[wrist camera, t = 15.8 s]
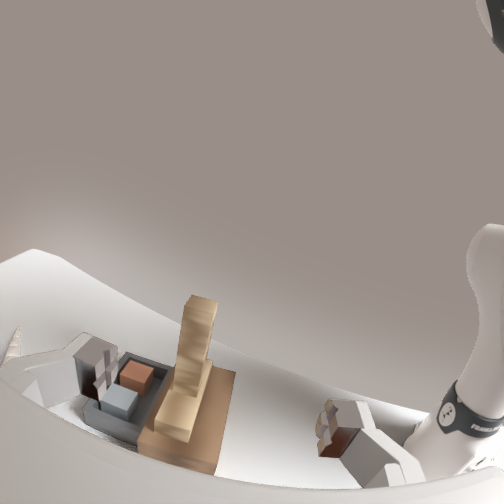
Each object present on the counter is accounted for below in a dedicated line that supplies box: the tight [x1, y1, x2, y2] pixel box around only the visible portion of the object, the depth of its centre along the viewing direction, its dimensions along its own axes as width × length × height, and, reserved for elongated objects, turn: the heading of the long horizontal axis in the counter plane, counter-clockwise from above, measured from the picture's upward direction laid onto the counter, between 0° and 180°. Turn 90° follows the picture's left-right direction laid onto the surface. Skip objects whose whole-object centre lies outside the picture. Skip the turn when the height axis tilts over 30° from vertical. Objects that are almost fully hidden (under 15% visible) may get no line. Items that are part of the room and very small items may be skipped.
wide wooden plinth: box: [137, 364, 236, 476], centre depth 35 cm, size 9×18×6 cm, turn 176°
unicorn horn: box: [2, 327, 21, 365], centre depth 32 cm, size 5×24×5 cm, turn 30°
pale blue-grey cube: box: [100, 383, 138, 422], centre depth 33 cm, size 4×4×3 cm
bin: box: [82, 352, 173, 446], centre depth 36 cm, size 9×15×4 cm, turn 176°
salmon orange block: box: [120, 360, 154, 397], centre depth 39 cm, size 4×4×3 cm
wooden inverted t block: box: [154, 295, 218, 443], centre depth 32 cm, size 4×14×14 cm, turn 176°
